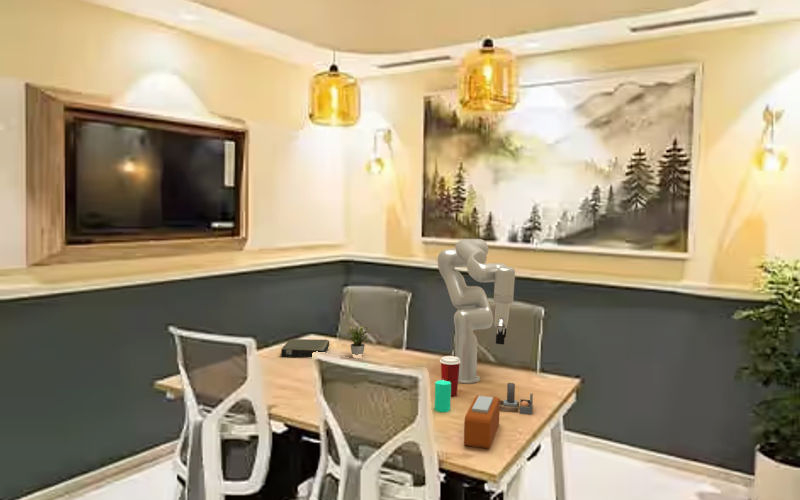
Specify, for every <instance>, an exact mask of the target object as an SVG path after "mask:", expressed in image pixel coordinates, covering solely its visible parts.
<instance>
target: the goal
mask: <svg viewBox="0 0 800 500" xmlns="http://www.w3.org/2000/svg"><path fill="white" fill-rule="evenodd" d="M533 399H534V394H533V393H529V399H523V398H522V399H521V398H520V400H519V401H520V402H519V414H523V415H533ZM522 401H527V402H528V403H529V407H525V406H520V404H521V402H522Z"/></svg>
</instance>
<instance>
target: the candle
mask: <svg viewBox="0 0 800 500" xmlns="http://www.w3.org/2000/svg"><path fill="white" fill-rule="evenodd" d="M451 399H452V398H451V383H450V381H444V380H442V379H441V380H437V381H435V382H434V410H435V412H439V413H449V412H450V411H451V407H452V406H451V404H452V402H451V401H452V400H451Z"/></svg>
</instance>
